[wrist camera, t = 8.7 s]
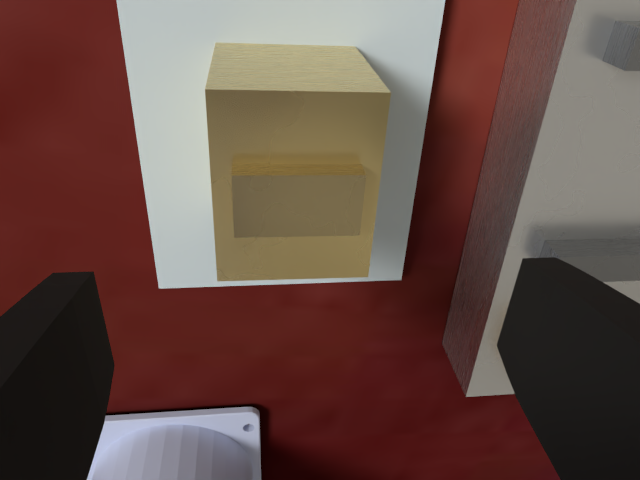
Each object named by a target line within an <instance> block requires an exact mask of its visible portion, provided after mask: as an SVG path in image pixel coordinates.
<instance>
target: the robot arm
mask: <svg viewBox="0 0 640 480" xmlns="http://www.w3.org/2000/svg"><path fill="white" fill-rule="evenodd" d="M497 348H498V351H499V353H500V356H501V359H502V362H503V365H504V367H505V370H506V373H507V375H508V378H509V380H510V383H511V385H512V388H513V390H514V393H515V395H516V397H517V399H518V401H519V403H520V405H521V407H522V409H523V411H524V413H525V415H526V417H527V418H528V420H529V422H530V424H531V426H532V428H533V430H534V431H535V433H536V435H537V437H538V439H539V441H540V443H541V444H542V446H543V448H544V450H545V452H546V453H547V455H548V457H549V459H550V461H551V463H552V464H553V466H554V468H555V470H556V472H557V474H558V475H559V477H560V479H561V480H640V304H639V303H638V302H636V301H634V300H633V299H631V298H629V297H627V296H626V295H624V294H622V293H621V292H619V291H617V290H615V289H614V288H612V287H610V286H609V285H607V284H605V283H603V282H602V281H600V280H598V279H596V278H595V277H593V276H591V275H589V274H587V273H586V272H584V271H582V270H580V269H578V268H576V267H574V266H573V265H571V264H569V263H567V262H564V261H562V260H560V259H558V258H556V257H547V258H523V259H522V262H521V265H520V269H519V272H518V275H517V279H516V282H515V285H514V289H513V292H512V295H511V299H510V302H509V305H508V309H507V312H506V315H505V319H504V322H503V325H502V329H501V332H500V335H499V339H498V342H497ZM113 371H114V361H113V356H112V352H111V347H110V343H109V339H108V334H107V330H106V325H105V321H104V316H103V312H102V307H101V303H100V299H99V294H98V290H97V285H96V281H95V276H94V272H68V273H52V274H51V275H50V276H49V277H47V278H46V279H45V280H43V281H42V282H41V283H40V284H38V285H37V286H36V287H35V288H34V289H33V290H31V291H30V292H29V293H28V294H27V295H25V296H24V297H23V298H22V299H21V300H20V301H18V302H17V303H16V304H15V305H14V306H13V307H11V308H10V309H9V310H8V311H7V312H6V313H4V314H3V315H2V316H1V317H0V480H261V449H260V413H259V411H258V410H257V409H256V408H254V407H234V408H218V409H202V410H186V411H171V412H155V413H139V414H123V415H107V416H106V411H107V406H108V401H109V395H110V389H111V383H112V377H113ZM248 424H249V425H248Z"/></svg>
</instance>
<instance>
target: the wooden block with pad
mask: <svg viewBox="0 0 640 480" xmlns="http://www.w3.org/2000/svg"><path fill="white" fill-rule="evenodd" d="M205 98H206V114H207V129H208V145H209V160H210V176H211V192H212V207H213V223H214V239H215V254H216V270H217V281H250V280H286V279H321V278H356V277H368V275H369V267H370V259H371V250H372V242H373V234H374V226H375V218H376V210H377V202H378V194H379V186H380V178H381V170H382V162H383V154H384V146H385V138H386V130H387V122H388V114H389V106H390V98H391V92H390V90H389V89H388V88H387V87H386V85H385V84H384V83H383V81H382V80H381V79H380V78H379V76H378V75H377V74H376V72H375V71H374V70H373V68H372V67H371V66H370V65H369V63H368V62H367V61H366V59H365V58H364V57H363V56H362V54H361V53H360V52H359V50H358V49H357V48H356V47H355V46H324V45H289V44H253V43H218V42H215V47H214V51H213V56H212V60H211V64H210V69H209V73H208V78H207V82H206V87H205Z"/></svg>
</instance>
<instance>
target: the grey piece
mask: <svg viewBox="0 0 640 480" xmlns="http://www.w3.org/2000/svg"><path fill="white" fill-rule="evenodd" d="M547 257H556V258H558V259H560V260H562V261H564V262H567V263H569V264H571V265H573V266H574V267H576V268H578V269H580V270H582V271H584V272H586V273H587V274H589V275H591V276H593V277H595V278H596V279H598V280H600V281H602V282H603V283H605V284H607V285H609V286H610V287H612V288H614V289H615V290H617V291H619V292H621V293H622V294H624V295H626V296H627V297H629V298H631V299H633V300H634V301H636V302H638V303H639V304H640V0H519V4H518V9H517V13H516V18H515V22H514V27H513V31H512V35H511V40H510V44H509V49H508V53H507V58H506V62H505V66H504V71H503V75H502V80H501V84H500V89H499V93H498V97H497V102H496V106H495V111H494V115H493V119H492V124H491V128H490V133H489V137H488V142H487V146H486V150H485V155H484V159H483V164H482V168H481V173H480V177H479V181H478V186H477V190H476V195H475V199H474V204H473V208H472V212H471V217H470V221H469V226H468V230H467V234H466V239H465V243H464V248H463V252H462V257H461V261H460V265H459V270H458V274H457V279H456V283H455V288H454V292H453V296H452V301H451V305H450V310H449V314H448V318H447V323H446V327H445V332H444V336H443V341H442V345H443V347H444V349H445V351H446V354H447V356H448V358H449V360H450V363H451V365H452V367H453V369H454V372H455V374H456V376H457V378H458V381H459V383H460V385H461V387H462V389H463V392H464V394H465V396H466V397H472V396H488V395H503V394H515V393H514V390H513V388H512V385H511V383H510V380H509V378H508V375H507V373H506V370H505V367H504V365H503V362H502V359H501V356H500V353H499V351H498V348H497V342H498V339H499V335H500V332H501V329H502V325H503V322H504V319H505V315H506V312H507V309H508V305H509V302H510V299H511V295H512V292H513V289H514V285H515V282H516V279H517V275H518V272H519V269H520V265H521V262H522V259H523V258H547Z"/></svg>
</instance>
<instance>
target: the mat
mask: <svg viewBox="0 0 640 480" xmlns="http://www.w3.org/2000/svg"><path fill="white" fill-rule="evenodd" d="M444 6H445V0H117V7H118V14H119V21H120V28H121V34H122V41H123V48H124V55H125V61H126V68H127V75H128V82H129V88H130V95H131V102H132V109H133V116H134V122H135V129H136V136H137V143H138V149H139V156H140V163H141V170H142V177H143V183H144V190H145V197H146V204H147V210H148V217H149V224H150V231H151V237H152V244H153V251H154V258H155V265H156V271H157V278H158V285H159V288H187V287H215V286H244V285H272V284H300V283H329V282H357V281H385V280H401V279H402V272H403V266H404V260H405V253H406V247H407V241H408V234H409V228H410V222H411V215H412V209H413V203H414V196H415V190H416V184H417V177H418V171H419V164H420V158H421V152H422V145H423V139H424V133H425V126H426V120H427V114H428V107H429V101H430V95H431V88H432V82H433V75H434V69H435V63H436V56H437V50H438V44H439V37H440V31H441V25H442V18H443V12H444ZM215 42H218V43H253V44H289V45H324V46H355V47H356V48H357V49H358V50H359V52H360V53H361V54H362V56H363V57H364V58H365V59H366V61H367V62H368V63H369V65H370V66H371V67H372V68H373V70H374V71H375V72H376V74H377V75H378V76H379V78H380V79H381V80H382V81H383V83H384V84H385V85H386V87H387V88H388V89H389V90H390V92H391V98H390V106H389V114H388V122H387V130H386V138H385V146H384V154H383V162H382V170H381V178H380V186H379V194H378V202H377V210H376V218H375V226H374V234H373V242H372V250H371V259H370V267H369V275H368V277H356V278H321V279H286V280H250V281H217V270H216V254H215V239H214V223H213V207H212V192H211V176H210V160H209V145H208V129H207V114H206V98H205V87H206V82H207V78H208V73H209V69H210V64H211V60H212V56H213V51H214V47H215Z"/></svg>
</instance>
